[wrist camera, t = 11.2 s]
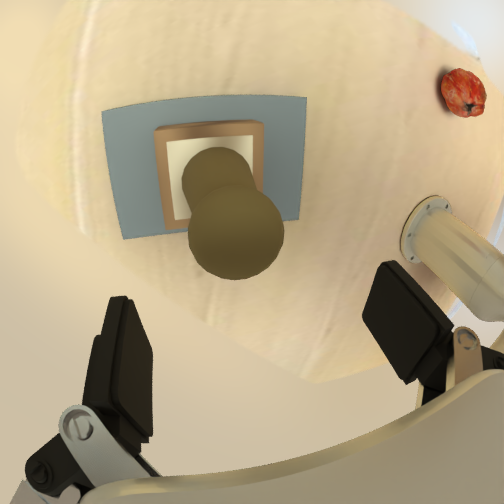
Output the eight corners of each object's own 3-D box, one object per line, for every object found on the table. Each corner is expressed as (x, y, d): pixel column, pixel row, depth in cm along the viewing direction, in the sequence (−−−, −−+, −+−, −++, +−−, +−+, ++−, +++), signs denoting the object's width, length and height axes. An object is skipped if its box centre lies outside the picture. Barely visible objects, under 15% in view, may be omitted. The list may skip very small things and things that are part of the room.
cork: (203, 225, 24) (218, 312, 15) (167, 169, 21) (154, 234, 12) (263, 193, 24) (314, 264, 15) (233, 133, 20) (274, 168, 11)
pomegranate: (433, 59, 25) (438, 83, 22) (474, 58, 20) (489, 84, 16) (444, 98, 29) (448, 130, 26) (482, 99, 24) (494, 133, 21)
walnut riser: (253, 119, 24) (264, 123, 20) (252, 203, 29) (262, 220, 25) (158, 126, 22) (153, 131, 19) (167, 212, 27) (165, 231, 24)
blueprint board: (302, 97, 24) (306, 97, 23) (295, 216, 32) (298, 219, 31) (104, 111, 20) (101, 111, 20) (124, 235, 28) (123, 239, 27)
